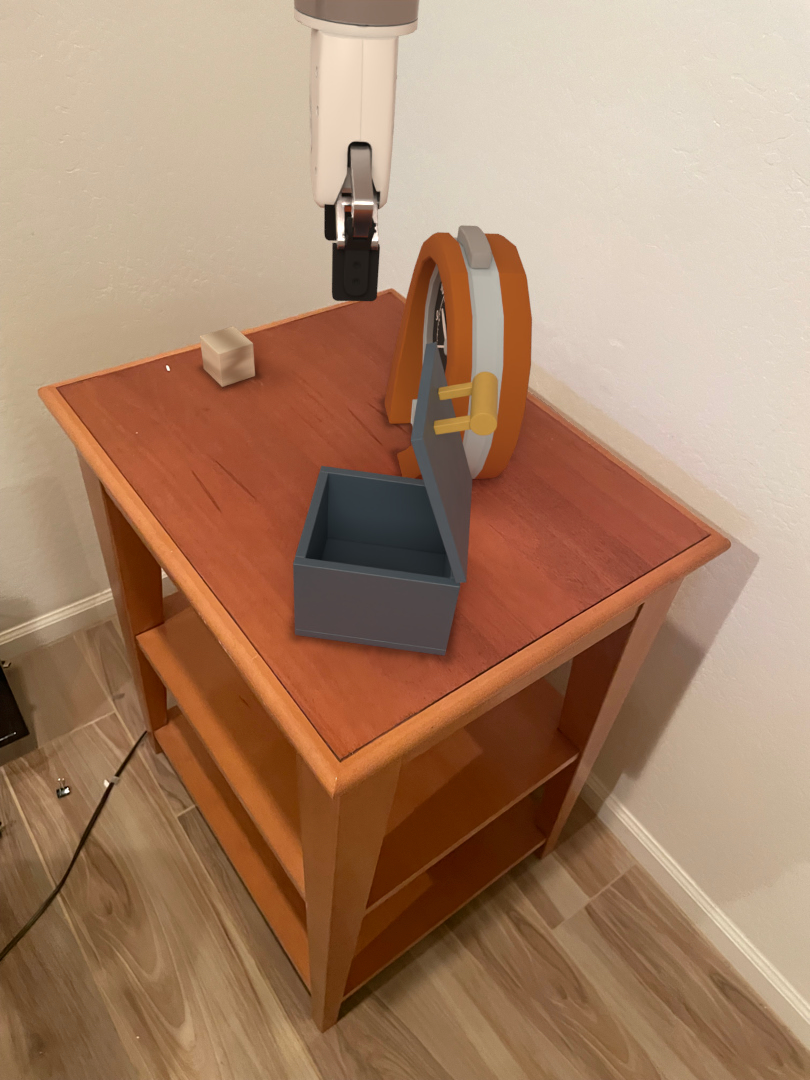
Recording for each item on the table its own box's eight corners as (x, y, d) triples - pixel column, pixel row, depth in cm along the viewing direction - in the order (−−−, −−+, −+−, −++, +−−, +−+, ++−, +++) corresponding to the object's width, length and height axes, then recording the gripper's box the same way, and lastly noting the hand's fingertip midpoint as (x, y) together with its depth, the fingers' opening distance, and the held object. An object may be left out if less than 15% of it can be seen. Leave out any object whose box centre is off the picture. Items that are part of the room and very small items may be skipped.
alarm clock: (378, 380, 88) (394, 184, 72) (458, 379, 90) (490, 187, 74) (409, 507, 73) (438, 294, 57) (504, 502, 75) (558, 295, 59)
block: (222, 387, 84) (218, 353, 81) (203, 369, 86) (199, 335, 83) (255, 376, 86) (253, 343, 83) (236, 358, 88) (233, 325, 85)
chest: (294, 635, 61) (292, 563, 54) (320, 537, 69) (321, 465, 63) (445, 656, 61) (460, 587, 54) (452, 555, 69) (467, 485, 63)
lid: (410, 440, 45) (490, 428, 44) (425, 343, 53) (493, 331, 52) (455, 583, 54) (523, 577, 53) (463, 482, 62) (522, 474, 61)
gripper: (290, -39, 49) (296, 218, 61) (298, 23, 37) (303, 326, 50) (400, -30, 50) (384, 221, 62) (442, 33, 38) (412, 327, 51)
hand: (348, 267), depth 56 cm, fingers open, 9 cm apart
